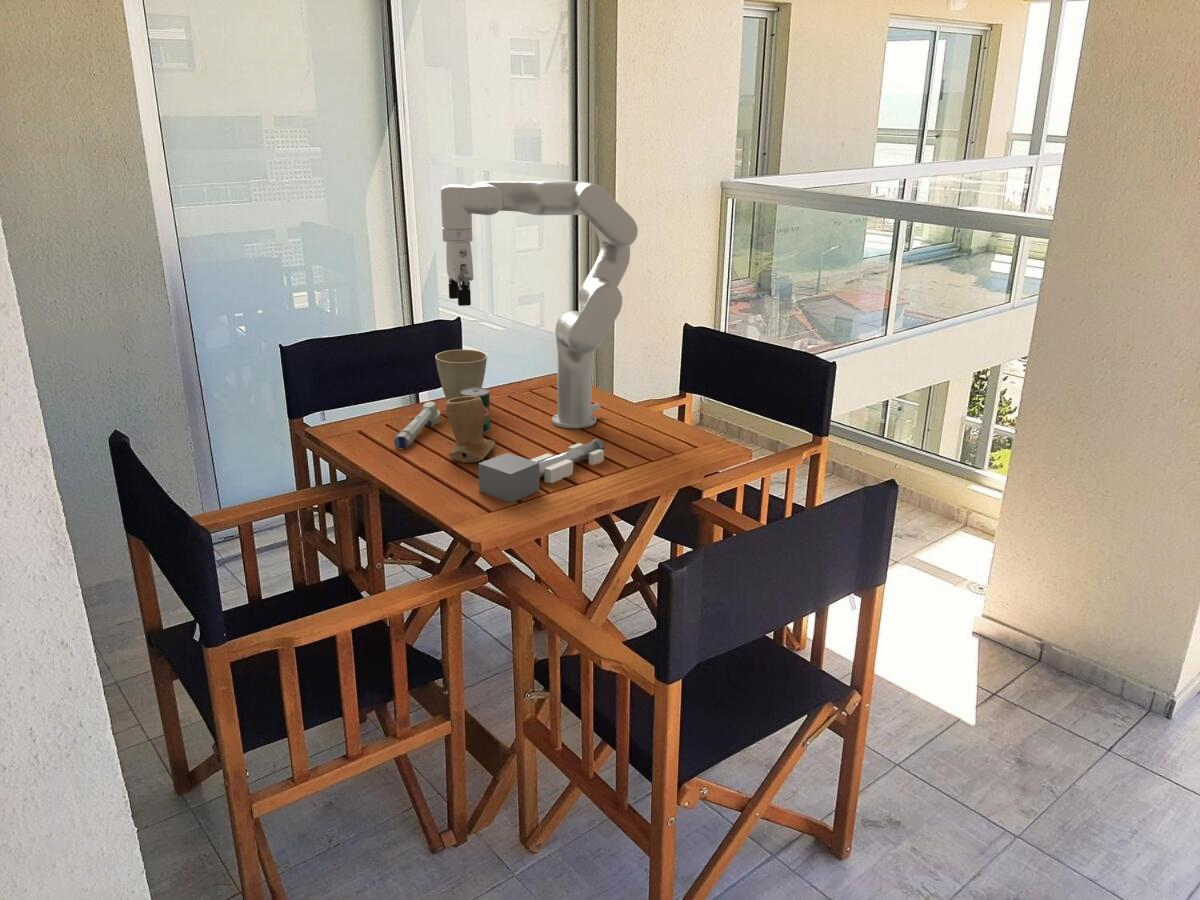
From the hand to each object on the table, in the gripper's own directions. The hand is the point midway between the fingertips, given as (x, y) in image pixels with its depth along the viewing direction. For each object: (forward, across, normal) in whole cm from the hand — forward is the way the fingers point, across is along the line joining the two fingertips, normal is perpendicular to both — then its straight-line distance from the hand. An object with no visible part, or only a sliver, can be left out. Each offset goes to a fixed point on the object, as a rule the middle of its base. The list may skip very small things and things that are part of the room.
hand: (459, 301), depth 245 cm
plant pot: (+36, +22, -5) cm, 42 cm away
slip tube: (+36, -34, -17) cm, 53 cm away
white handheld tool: (+36, +3, +12) cm, 39 cm away
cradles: (+36, -35, -17) cm, 53 cm away
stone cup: (+36, -17, +3) cm, 40 cm away
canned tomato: (+36, +1, -4) cm, 36 cm away
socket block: (+36, -44, 0) cm, 57 cm away
